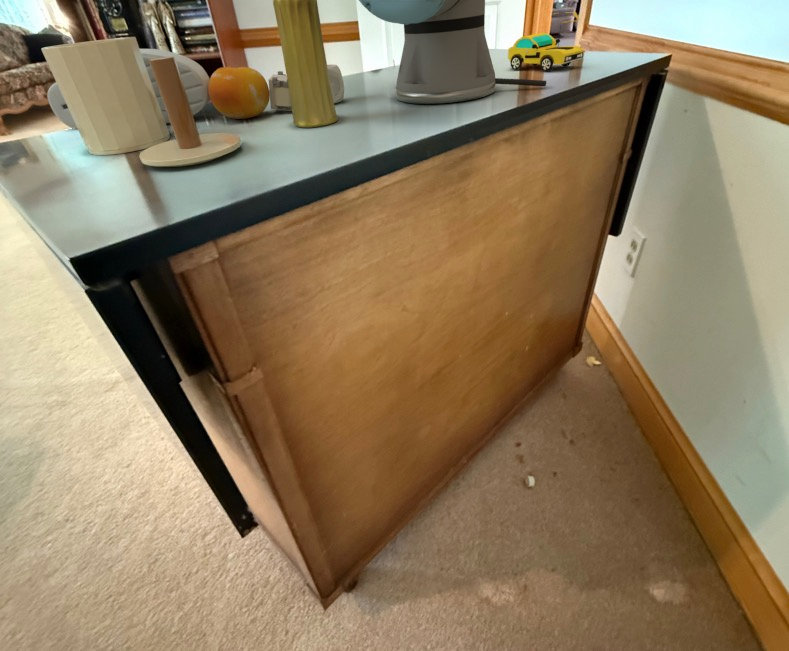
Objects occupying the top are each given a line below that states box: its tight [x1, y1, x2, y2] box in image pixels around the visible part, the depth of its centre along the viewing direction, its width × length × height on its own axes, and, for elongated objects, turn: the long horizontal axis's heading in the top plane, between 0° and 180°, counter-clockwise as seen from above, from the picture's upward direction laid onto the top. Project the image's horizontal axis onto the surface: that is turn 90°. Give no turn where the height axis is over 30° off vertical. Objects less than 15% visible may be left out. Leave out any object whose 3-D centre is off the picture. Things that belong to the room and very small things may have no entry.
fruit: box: [208, 66, 270, 120], centre depth 70 cm, size 8×8×8 cm
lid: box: [138, 56, 242, 168], centre depth 52 cm, size 11×11×10 cm
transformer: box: [268, 70, 292, 112], centre depth 78 cm, size 6×20×5 cm
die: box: [327, 64, 345, 104], centre depth 74 cm, size 5×5×5 cm
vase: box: [272, 0, 339, 129], centre depth 60 cm, size 6×6×14 cm
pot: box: [40, 36, 171, 156], centre depth 60 cm, size 10×10×12 cm
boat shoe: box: [46, 48, 211, 130], centre depth 75 cm, size 10×29×10 cm
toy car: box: [507, 11, 585, 73], centre depth 82 cm, size 12×8×8 cm, turn 40°
